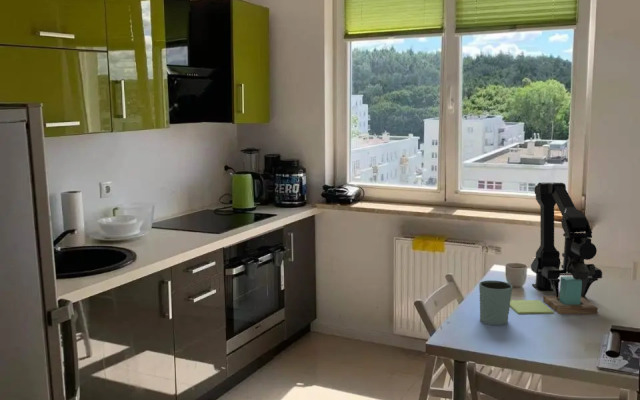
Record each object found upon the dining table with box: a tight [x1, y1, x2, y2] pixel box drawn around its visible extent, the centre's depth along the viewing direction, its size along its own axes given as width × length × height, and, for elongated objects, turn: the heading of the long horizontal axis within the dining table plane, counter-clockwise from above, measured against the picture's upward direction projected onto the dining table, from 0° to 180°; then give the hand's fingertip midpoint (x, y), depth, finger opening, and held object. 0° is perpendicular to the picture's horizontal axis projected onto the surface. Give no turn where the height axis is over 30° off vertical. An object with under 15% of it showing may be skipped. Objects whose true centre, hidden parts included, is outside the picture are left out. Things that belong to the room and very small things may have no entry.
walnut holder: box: [542, 295, 599, 315], centre depth 216 cm, size 13×13×2 cm
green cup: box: [478, 279, 513, 327], centre depth 201 cm, size 10×10×12 cm
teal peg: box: [559, 276, 582, 305], centre depth 215 cm, size 5×5×10 cm
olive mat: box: [510, 299, 555, 315], centre depth 215 cm, size 12×12×1 cm
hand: (570, 297), depth 215 cm, fingers open, 9 cm apart
